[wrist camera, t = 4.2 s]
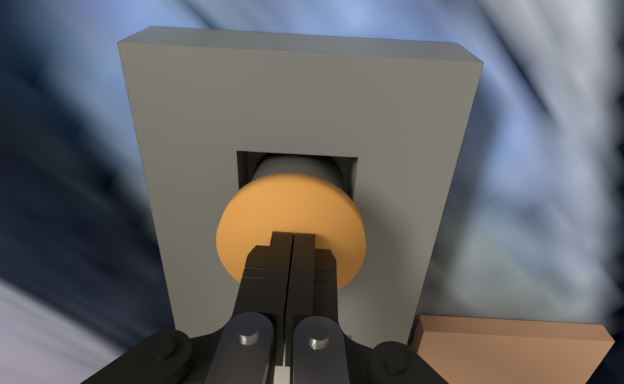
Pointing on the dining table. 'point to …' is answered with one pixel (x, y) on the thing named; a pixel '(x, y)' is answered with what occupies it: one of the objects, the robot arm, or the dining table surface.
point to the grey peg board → (298, 152)
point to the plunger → (293, 212)
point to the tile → (510, 350)
